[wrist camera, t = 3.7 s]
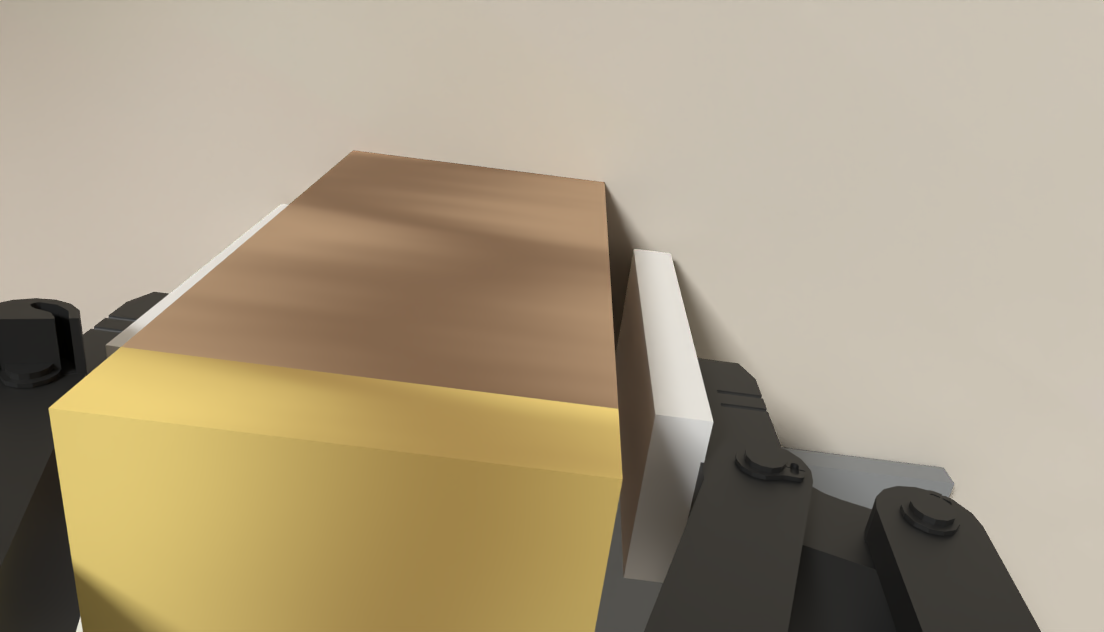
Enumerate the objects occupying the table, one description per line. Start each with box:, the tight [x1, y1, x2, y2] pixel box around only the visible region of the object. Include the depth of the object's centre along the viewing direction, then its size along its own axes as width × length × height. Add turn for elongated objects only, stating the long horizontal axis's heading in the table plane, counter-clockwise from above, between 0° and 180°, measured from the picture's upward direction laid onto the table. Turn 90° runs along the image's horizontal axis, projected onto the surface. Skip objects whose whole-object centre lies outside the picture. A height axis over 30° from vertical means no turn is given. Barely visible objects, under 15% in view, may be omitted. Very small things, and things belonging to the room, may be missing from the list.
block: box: [49, 151, 623, 632], centre depth 13 cm, size 5×5×10 cm
